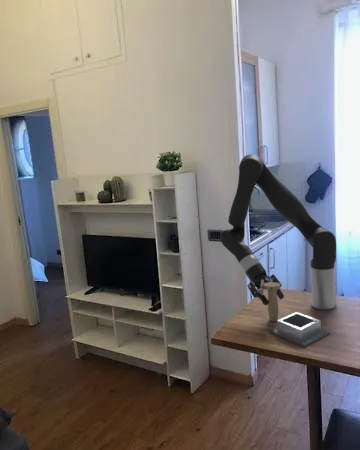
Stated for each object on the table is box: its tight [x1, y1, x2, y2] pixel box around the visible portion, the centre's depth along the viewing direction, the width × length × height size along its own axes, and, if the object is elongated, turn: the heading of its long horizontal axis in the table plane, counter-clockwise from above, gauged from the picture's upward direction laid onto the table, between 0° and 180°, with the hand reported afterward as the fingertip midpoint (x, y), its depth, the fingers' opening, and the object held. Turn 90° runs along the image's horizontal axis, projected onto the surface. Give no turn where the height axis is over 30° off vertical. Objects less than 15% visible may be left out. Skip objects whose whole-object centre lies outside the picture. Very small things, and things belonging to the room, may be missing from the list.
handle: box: [264, 282, 281, 322], centre depth 154 cm, size 5×6×15 cm
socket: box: [268, 311, 331, 348], centre depth 142 cm, size 14×16×5 cm
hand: (275, 301), depth 153 cm, fingers open, 8 cm apart
